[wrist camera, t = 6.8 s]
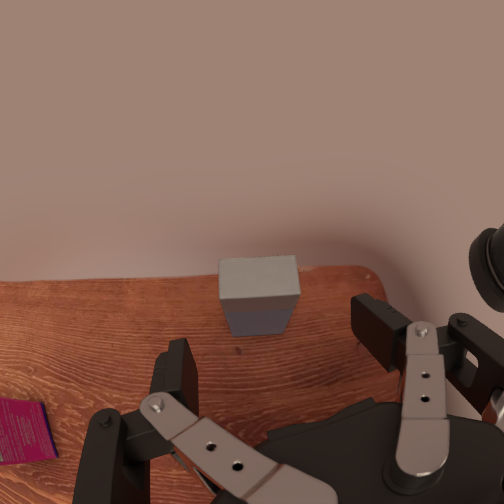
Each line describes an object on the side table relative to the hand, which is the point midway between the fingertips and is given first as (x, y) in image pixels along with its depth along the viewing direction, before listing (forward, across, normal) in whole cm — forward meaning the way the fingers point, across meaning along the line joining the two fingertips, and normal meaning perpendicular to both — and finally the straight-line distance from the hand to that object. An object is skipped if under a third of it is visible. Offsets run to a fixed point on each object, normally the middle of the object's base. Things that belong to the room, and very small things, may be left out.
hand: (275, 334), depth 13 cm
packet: (+9, 0, -4) cm, 10 cm away
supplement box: (+3, -24, -10) cm, 26 cm away
